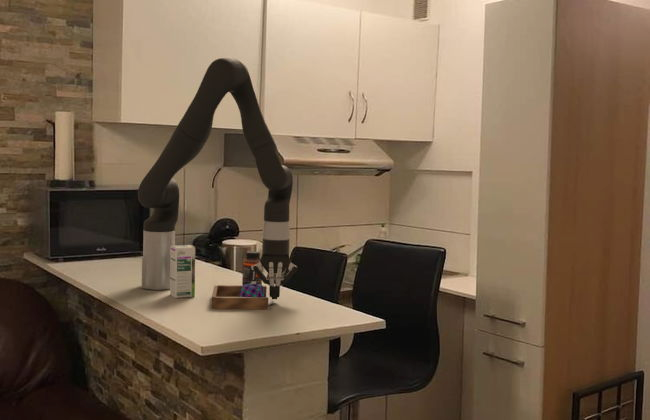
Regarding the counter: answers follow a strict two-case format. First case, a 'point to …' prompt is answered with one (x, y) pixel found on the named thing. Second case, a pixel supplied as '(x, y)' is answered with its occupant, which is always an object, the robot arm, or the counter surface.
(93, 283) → the counter surface
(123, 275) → the counter surface
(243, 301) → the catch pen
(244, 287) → the pudding
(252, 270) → the supplement bottle
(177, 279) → the syrup box
